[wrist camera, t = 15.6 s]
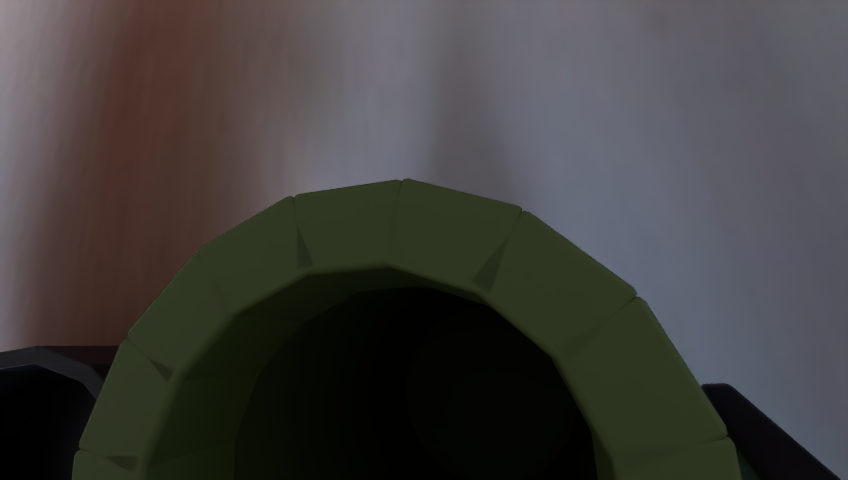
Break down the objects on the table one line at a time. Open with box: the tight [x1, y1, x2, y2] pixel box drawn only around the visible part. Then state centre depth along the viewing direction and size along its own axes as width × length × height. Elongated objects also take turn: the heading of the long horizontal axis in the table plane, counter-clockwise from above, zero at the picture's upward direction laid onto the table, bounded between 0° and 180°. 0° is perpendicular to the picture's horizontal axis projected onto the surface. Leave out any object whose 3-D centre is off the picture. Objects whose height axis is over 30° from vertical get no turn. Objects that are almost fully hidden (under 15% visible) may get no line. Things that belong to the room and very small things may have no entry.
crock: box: [72, 178, 742, 480], centre depth 10 cm, size 6×6×13 cm
